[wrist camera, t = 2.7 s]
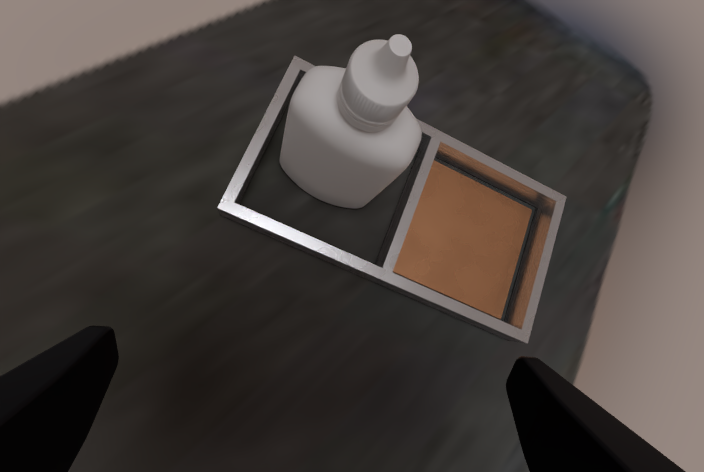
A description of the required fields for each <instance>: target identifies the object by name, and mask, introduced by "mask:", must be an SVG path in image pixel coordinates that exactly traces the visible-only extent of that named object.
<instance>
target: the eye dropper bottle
mask: <svg viewBox="0 0 704 472" xmlns="http://www.w3.org/2000/svg"><path fill="white" fill-rule="evenodd" d="M411 49H412V45H411V42H410V41H409V39H408V38H407V37H405V36H403V35H400V34H397V35H394V36H392V37H391V38H390V39H389V41H386V40H370V41H367V42H366V43H363V44H361V45H360V46H358V48H357V49H355V51H354V52H353V54H352V55H351V58H350V60H349V63H348V65H347V68H340V67H333V66H317V67H312V68H311V69H310V70H308V71H307V72H306V73H305V75H304V76H303V78H302V79H301V81H300V82H299V84H298V86H297V88H296V89H295V91H294V93H293V95H292V98H291V100H290V105H289V109H288V114H287V119H286V125H285V130H284V136H283V142H282V147H281V153H280V159H279V162H280V165H281V167H282V169H283V170H284V172H285V173H286V174H287V175H288V176H289V177H290V178H291V179H292V181H293V182H295V183H296V184H297V185H298V186H299V187H300V188H301V189H303V190H304V191H305V192H307V193H308V194H310V195H312V196H313V197H315V198H317V199H319V200H321V201H324V202H326V203H329V204H332V205H335V206H339V207H345V208H354V209H357V208H361V207H364V206H365V205H366V204H367V203H368V202H370V201H371V200H372V199H373V198H374V197H375V196H376V195H378V194H379V193H380V192H381V191H382V190H383V189H384V188H386V187H387V186H388V185H389V184H390V183H391V182H392V181H394V180H395V179H396V178H397V177H398V176H399V175H400V174H401V173H402V172H403V171H404V170H405V169H406V168H407V167H408V166H409V164H410V163H411V161H412V159H413V157H414V155H415V153H416V151H417V149H418V146H419V144H420V141H421V137H422V131H421V128H420V125H419V123H418V122H417V120H416V118H415V117H414V115H413V114H412V112H411V111H410V110H409V108H408V107H407V104H408V103H409V102H410V101H411V99H412V98H413V97H414V95H415V93H416V90H417V89H418V88H417V87H418V83H419V81H418V79H419V77H418V70H417V67H416V64H415V63H414V61H413V59H412V57H411V56H410V53H411Z"/></svg>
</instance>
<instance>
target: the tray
mask: <svg viewBox="0 0 704 472" xmlns="http://www.w3.org/2000/svg"><path fill="white" fill-rule="evenodd" d="M312 67H316V66H314V65H312V64H310V63H308V62H306V61H304V60H302V59H300V58H299V57H297V56H294V58H293V60H292V62H291V64H290V66H289V68H288V70H287V72H286V74H285V76H284V78H283V79H282V81H281V83H280V85H279V87H278V89H277V91H276V93H275V95H274V97H273V99H272V101H271V103H270V105H269V107H268V109H267V111H266V113H265V115H264V117H263V119H262V121H261V123H260V125H259V127H258V129H257V131H256V133H255V135H254V137H253V139H252V141H251V142H250V144H249V146H248V148H247V150H246V152H245V154H244V156H243V158H242V160H241V162H240V164H239V166H238V168H237V170H236V172H235V174H234V176H233V178H232V180H231V182H230V184H229V186H228V188H227V190H226V192H225V194H224V196H223V198H222V200H221V202H220V204H219V206H218V207H217V208H218V211H219V213H220V215H221V216H223V217H225V218H227V219H230V220H232V221H234V222H237V223H239V224H241V225H244V226H246V227H248V228H250V229H253V230H255V231H257V232H260V233H262V234H264V235H267V236H269V237H271V238H273V239H276V240H278V241H280V242H283V243H285V244H287V245H290V246H292V247H294V248H296V249H299V250H301V251H303V252H306V253H308V254H310V255H313V256H315V257H317V258H319V259H322V260H324V261H326V262H329V263H331V264H333V265H336V266H338V267H340V268H342V269H345V270H347V271H349V272H352V273H354V274H356V275H359V276H361V277H363V278H365V279H368V280H370V281H372V282H375V283H377V284H379V285H382V286H384V287H386V288H388V289H391V290H393V291H395V292H398V293H400V294H402V295H405V296H407V297H409V298H411V299H414V300H416V301H418V302H421V303H423V304H425V305H428V306H430V307H432V308H434V309H437V310H439V311H441V312H444V313H446V314H448V315H451V316H453V317H455V318H457V319H460V320H462V321H464V322H467V323H469V324H471V325H474V326H476V327H478V328H480V329H483V330H485V331H487V332H490V333H492V334H494V335H496V336H499V337H501V338H503V339H506V340H508V341H514V342H520V343H526V344H528V340H529V337H530V333H531V329H532V325H533V322H534V318H535V314H536V310H537V306H538V303H539V299H540V295H541V291H542V287H543V284H544V280H545V276H546V272H547V269H548V265H549V261H550V257H551V253H552V250H553V246H554V242H555V238H556V235H557V231H558V227H559V223H560V219H561V216H562V212H563V208H564V204H565V201H566V196H564V195H562V194H560V193H558V192H556V191H554V190H552V189H550V188H549V187H547V186H545V185H543V184H541V183H539V182H537V181H535V180H533V179H531V178H529V177H527V176H525V175H524V174H522V173H520V172H518V171H516V170H514V169H512V168H510V167H508V166H506V165H504V164H502V163H500V162H499V161H497V160H495V159H493V158H491V157H489V156H487V155H485V154H483V153H481V152H479V151H477V150H475V149H474V148H472V147H470V146H468V145H466V144H464V143H462V142H460V141H458V140H456V139H454V138H452V137H450V136H449V135H447V134H445V133H443V132H441V131H439V130H437V129H435V128H433V127H431V126H429V125H427V124H425V123H424V122H422V121H420V120H418V119H416V120H417V122H418V123H419V125H420V128H421V131H422V137H421V141H420V144H419V146H418V148H419V150H418V153H417V156H416V158H415V161H414V164H413V166H412V169H411V171H410V174H409V177H408V179H407V182H406V185H405V187H404V190H403V192H402V195H401V198H400V200H399V203H398V205H397V208H396V211H395V213H394V216H393V219H392V221H391V224H390V226H389V229H388V232H387V234H386V237H385V240H384V242H383V245H382V247H381V250H380V253H379V255H378V258H377V260H376V263H375V265H374V264H372V263H370V262H368V261H365V260H363V259H361V258H359V257H356V256H354V255H352V254H349V253H347V252H345V251H343V250H340V249H338V248H336V247H334V246H331V245H329V244H327V243H325V242H322V241H320V240H318V239H316V238H313V237H311V236H309V235H307V234H304V233H302V232H300V231H298V230H295V229H293V228H291V227H289V226H286V225H284V224H282V223H280V222H277V221H275V220H273V219H270V218H268V217H266V216H264V215H261V214H259V213H257V212H255V211H252V210H250V209H248V208H246V207H243V206H241V205H239V203H240V201H241V199H242V197H243V195H244V193H245V191H246V189H247V187H248V185H249V183H250V181H251V179H252V177H253V175H254V173H255V170H256V168H257V166H258V164H259V162H260V160H261V158H262V156H263V154H264V152H265V150H266V148H267V146H268V144H269V142H270V140H271V138H272V136H273V134H274V132H275V130H276V128H277V126H278V124H279V122H280V120H281V118H282V116H283V114H284V112H285V110H286V108H287V106H288V104H289V102H290V100H291V98H292V95H293V93H294V91H295V89H296V87H297V86H298V84H299V82H300V81H301V79H302V78H303V76H304V75H305V73H306V72H307V71H308V70H310V69H311V68H312ZM435 157H437V158H439V159H441V160H443V161H445V162H447V163H449V164H451V165H453V166H455V167H457V168H459V169H461V170H463V171H465V172H467V173H469V174H471V175H473V176H475V177H477V178H479V179H481V180H483V181H485V182H487V183H489V184H491V185H493V186H495V187H496V188H498V189H500V190H502V191H504V192H506V193H508V194H510V195H512V196H514V197H516V198H518V199H520V200H522V201H524V202H526V203H528V204H530V205H532V206H534V207H536V211H535V214H534V218H533V221H532V225H531V229H530V232H529V236H528V239H527V243H526V246H525V250H524V253H523V257H522V260H521V264H520V267H519V271H518V274H517V278H516V281H515V285H514V288H513V292H512V296H511V299H510V303H509V306H508V310H507V313H506V317H505V320H504V322H503V321H501V320H498V319H501V316H502V313H503V309H504V306H505V302H506V299H507V295H508V292H509V288H510V285H511V281H512V278H513V275H514V271H515V268H516V264H517V261H518V257H519V254H520V250H521V247H522V243H523V240H524V236H525V233H526V229H527V226H528V222H529V219H530V215H531V212H532V210H531V209H529V208H527V207H525V206H523V205H521V204H519V203H517V202H515V201H513V200H512V199H510V198H508V197H506V196H504V195H502V194H500V193H498V192H496V191H494V190H492V189H490V188H488V187H486V186H484V185H482V184H480V183H478V182H476V181H474V180H472V179H470V178H468V177H466V176H464V175H462V174H460V173H458V172H456V171H454V170H452V169H450V168H448V167H446V166H444V165H442V164H440V163H438V162H436V161H434V158H435ZM392 272H394V273H392ZM395 273H396V274H395ZM397 274H398V275H397ZM399 275H401V276H403V277H401V276H399ZM404 277H405V278H404ZM406 278H407V279H406ZM408 279H410V280H412V281H410V280H408ZM413 281H414V282H413ZM415 282H416V283H415ZM417 283H419V284H421V285H419V284H417ZM422 285H423V286H422ZM424 286H425V287H424ZM426 287H428V288H430V289H428V288H426ZM431 289H432V290H431ZM433 290H434V291H433ZM435 291H437V292H439V293H437V292H435ZM440 293H441V294H440ZM442 294H443V295H442ZM444 295H446V296H444ZM447 296H448V297H447ZM449 297H450V298H449ZM451 298H452V299H451ZM453 299H455V300H453ZM456 300H457V301H456ZM458 301H459V302H458ZM460 302H461V303H460ZM462 303H464V304H462ZM465 304H466V305H465ZM467 305H468V306H467ZM469 306H471V307H473V308H471V307H469ZM474 308H475V309H474ZM476 309H477V310H476ZM478 310H480V311H482V312H480V311H478ZM483 312H484V313H483ZM485 313H486V314H485ZM487 314H489V315H491V316H489V315H487ZM492 316H493V317H492ZM494 317H495V318H494ZM496 318H498V319H496Z"/></svg>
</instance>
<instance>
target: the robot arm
mask: <svg viewBox="0 0 704 472" xmlns="http://www.w3.org/2000/svg"><path fill="white" fill-rule="evenodd" d="M118 359H119V356H118V349H117V344H116V339H115V333H114V330H113V329H112V328H111V327H106V326H89V327H87V328H85V329H83V330H81V331H80V332H78V333H76V334H74V335H72V336H71V337H69V338H67V339H65V340H64V341H62V342H60V343H58V344H57V345H55V346H53V347H51V348H49V349H48V350H46V351H44V352H42V353H41V354H39V355H37V356H35V357H34V358H32V359H30V360H28V361H26V362H25V363H23V364H21V365H19V366H18V367H16V368H14V369H12V370H11V371H9V372H7V373H5V374H3V375H2V376H0V472H68V470H69V469H70V467H71V465H72V463H73V461H74V460H75V458H76V456H77V454H78V452H79V451H80V449H81V447H82V445H83V443H84V441H85V439H86V437H87V435H88V433H89V431H90V428H91V426H92V424H93V422H94V419H95V417H96V414H97V412H98V410H99V407H100V405H101V403H102V400H103V398H104V396H105V393H106V391H107V389H108V386H109V384H110V382H111V379H112V377H113V375H114V372H115V370H116V367H117V364H118ZM506 390H507V395H508V398H509V402H510V406H511V410H512V413H513V417H514V421H515V425H516V428H517V432H518V436H519V440H520V443H521V447H522V450H523V453H524V457H525V460H526V462H527V465H528V468H529V471H530V472H685V471H684V470H683V469H681V468H680V467H679V466H677V465H676V464H675V463H674V462H672V461H671V460H670V459H668V458H667V457H666V456H664V455H663V454H662V453H661V452H659V451H658V450H657V449H655V448H654V447H653V446H651V445H650V444H649V443H648V442H646V441H645V440H644V439H642V438H641V437H640V436H638V435H637V434H636V433H634V432H633V431H632V430H630V429H629V428H628V427H627V426H625V425H624V424H623V423H622V422H620V421H619V420H618V419H616V418H615V417H614V416H612V415H611V414H610V413H608V412H607V411H606V410H604V409H603V408H602V407H601V406H599V405H598V404H597V403H595V402H594V401H593V400H592V399H590V398H589V397H588V396H586V395H585V394H584V393H582V392H581V391H580V390H579V389H577V388H576V387H575V386H573V385H572V384H571V383H569V382H568V381H567V380H566V379H564V378H563V377H562V376H560V375H559V374H558V373H556V372H555V371H554V370H553V369H551V368H550V367H549V366H547V365H546V364H545V363H543V362H542V361H541V360H540V359H538V358H535V357H525V356H521V357H519V358H517V360H516V361H515V364H514V366H513V368H512V370H511V372H510V374H509V377H508V379H507V382H506Z"/></svg>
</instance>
